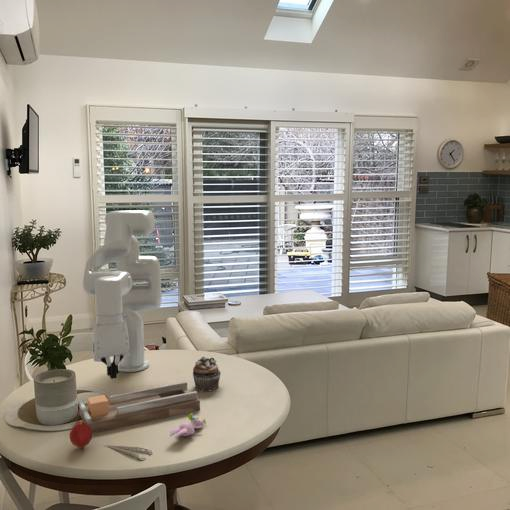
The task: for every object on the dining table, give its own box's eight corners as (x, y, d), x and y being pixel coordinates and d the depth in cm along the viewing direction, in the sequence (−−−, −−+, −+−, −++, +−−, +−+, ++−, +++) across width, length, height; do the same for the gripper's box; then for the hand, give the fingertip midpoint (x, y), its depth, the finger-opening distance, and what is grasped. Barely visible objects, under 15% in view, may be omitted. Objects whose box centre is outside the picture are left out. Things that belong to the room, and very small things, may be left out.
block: (88, 410, 162) (87, 397, 161) (104, 407, 164) (104, 394, 163) (91, 417, 157) (90, 404, 157) (108, 413, 160) (108, 400, 159)
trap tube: (79, 414, 166) (78, 399, 165) (184, 393, 181) (184, 379, 180) (88, 434, 153) (87, 417, 153) (199, 409, 169) (199, 394, 168)
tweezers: (154, 454, 144) (153, 447, 143) (143, 463, 139) (142, 456, 139) (102, 444, 151) (102, 438, 151) (91, 453, 147) (90, 446, 147)
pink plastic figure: (192, 426, 161) (162, 440, 148) (193, 406, 161) (164, 418, 148) (210, 430, 158) (181, 445, 145) (211, 410, 158) (183, 423, 145)
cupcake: (189, 390, 184) (188, 362, 182) (198, 380, 193) (198, 353, 191) (215, 393, 181) (215, 364, 180) (224, 382, 191) (224, 355, 189)
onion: (70, 444, 148) (68, 417, 146) (92, 441, 150) (90, 413, 148) (71, 455, 142) (69, 426, 141) (93, 451, 144) (92, 423, 143)
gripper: (131, 311, 166) (134, 367, 169) (81, 318, 159) (85, 377, 162) (138, 318, 159) (140, 376, 163) (86, 325, 152) (89, 386, 156)
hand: (112, 376), depth 162 cm, fingers closed
